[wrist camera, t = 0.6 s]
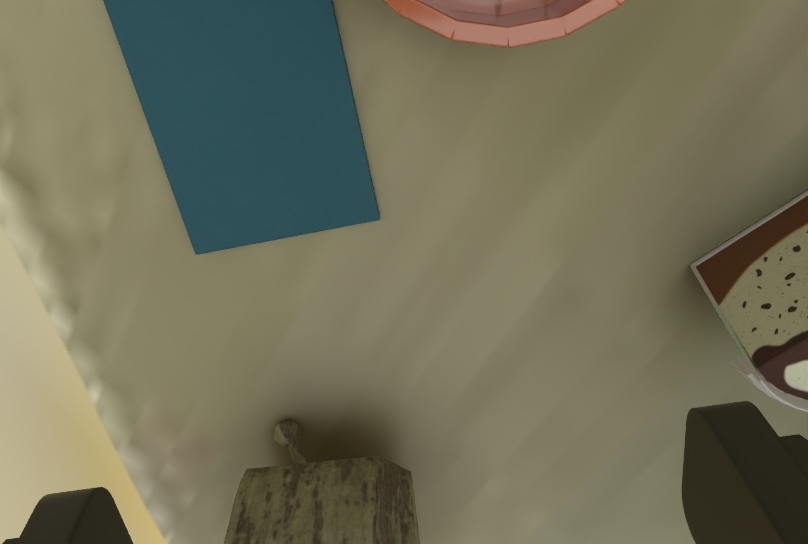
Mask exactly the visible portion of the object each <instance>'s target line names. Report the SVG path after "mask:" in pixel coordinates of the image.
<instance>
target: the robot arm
mask: <svg viewBox="0 0 808 544" xmlns="http://www.w3.org/2000/svg"><path fill="white" fill-rule="evenodd" d="M682 501H683V507H684V512H685V516H686V520H687V523H688V526H689V529H690V532H691V534H692V536H693V539H694V541H695V543H696V544H808V440H807V439H805V438H804V437H802V436H801V435H799V434H798V435H791V436H783V437H779V436H778V435H777V434H776V432H775V431H774V430H773V428H772V427H771V426H770V424H769V423H768V422H767V420H766V419H765V418H764V416H763V415H762V414H761V412H760V411H759V410H758V408H757V407H756V406H755V405H754V404H752V403H751V402H749V401H742V402H735V403H728V404H720V405H713V406H706V407H698V408H692V409H691V410H690V411H689V412H688V415H687V421H686V434H685V448H684V463H683V477H682ZM3 544H133V542H132V540H131V537H130V535H129V533H128V531H127V528H126V526H125V524H124V522H123V520H122V518H121V515H120V513H119V511H118V509H117V506H116V504H115V502H114V500H113V497H112V496H111V494H110V492H109V491H108V490H107V489H105V488H103V487H98V488H91V489H83V490H76V491H68V492H61V493H54V494H48V495H46V496H44V497H43V498H42V499H41V500H40V501H39V502H38V504H37V505H36V507H35V509H34V511H33V513H32V514H31V516H30V518H29V520H28V522H27V524H26V526H25V528H24V530H23V532H22V534H21V535H20V538H14V539H6V540H5V541H4V542H3Z"/></svg>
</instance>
